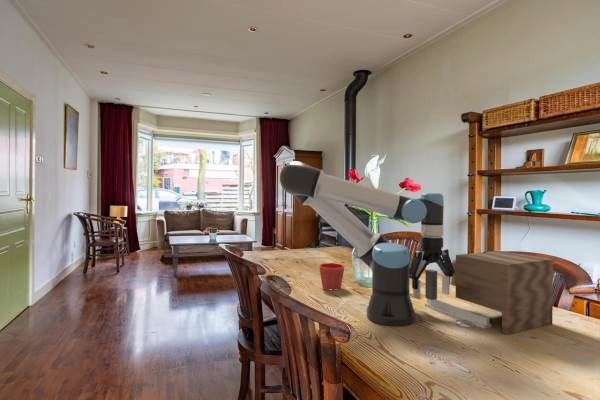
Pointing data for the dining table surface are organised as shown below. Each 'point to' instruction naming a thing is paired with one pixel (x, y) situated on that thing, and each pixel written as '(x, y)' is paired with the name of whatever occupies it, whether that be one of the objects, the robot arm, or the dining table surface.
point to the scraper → (447, 308)
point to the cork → (453, 280)
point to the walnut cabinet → (508, 287)
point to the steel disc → (464, 323)
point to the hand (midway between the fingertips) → (431, 296)
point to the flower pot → (331, 275)
